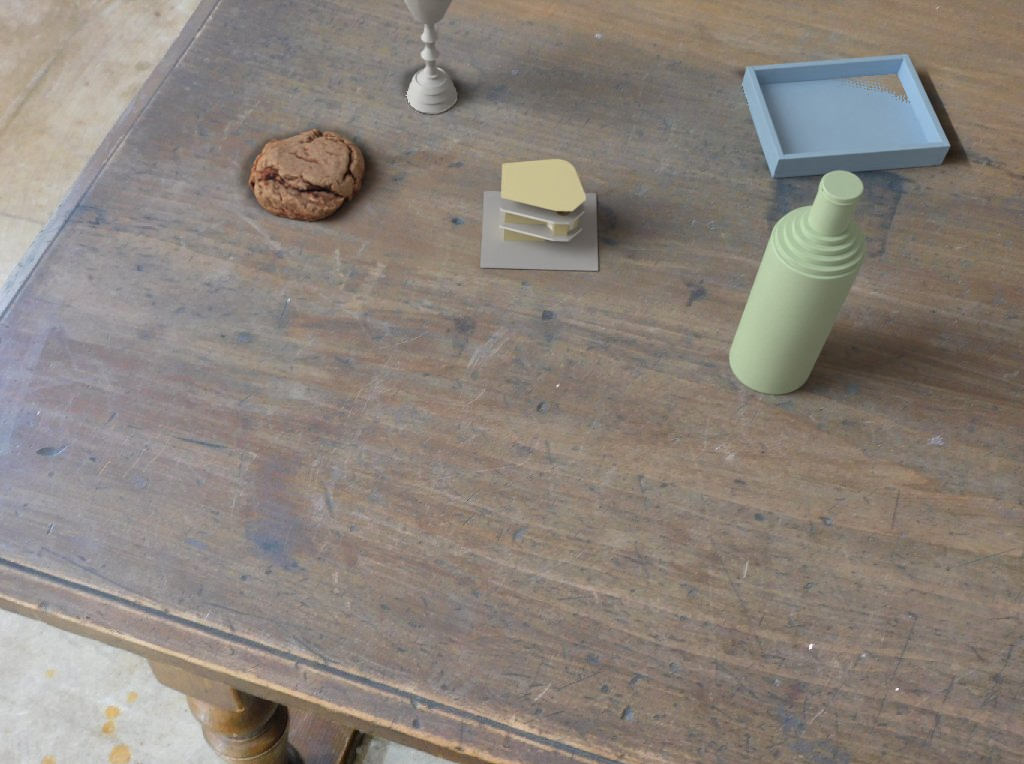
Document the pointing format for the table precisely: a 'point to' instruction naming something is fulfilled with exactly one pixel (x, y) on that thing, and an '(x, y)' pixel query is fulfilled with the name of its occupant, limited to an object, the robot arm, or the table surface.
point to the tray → (842, 117)
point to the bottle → (800, 288)
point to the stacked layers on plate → (539, 219)
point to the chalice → (430, 61)
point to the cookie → (307, 175)
